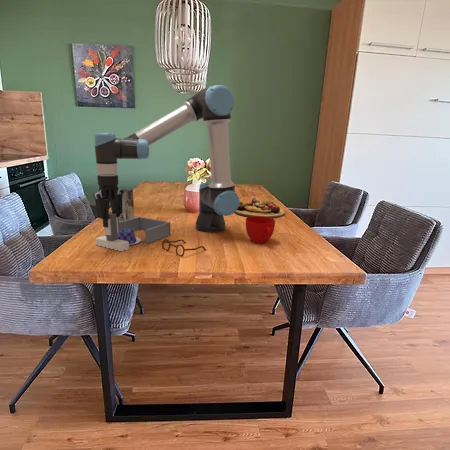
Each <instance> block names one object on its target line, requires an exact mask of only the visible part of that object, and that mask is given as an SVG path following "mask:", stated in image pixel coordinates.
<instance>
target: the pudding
mask: <svg viewBox="0 0 450 450" xmlns="http://www.w3.org/2000/svg"><path fill="white" fill-rule="evenodd" d="M118 239H119V240H124V241H128V242H129V246H131V245H136V244H138V243H140V242H141V241H142V239H141V238H140V237H137V236H136V235H135V231H133V230H131V229H122V230H120V231H119V233H118Z"/></svg>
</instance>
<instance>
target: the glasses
mask: <svg viewBox="0 0 450 450" xmlns="http://www.w3.org/2000/svg"><path fill="white" fill-rule="evenodd" d="M161 242H162V244H161V247H162V250H163V249H164V250H166V251H165V252H169V250H170V248H171V246H172V247H174V248H175V254H176V256H177V255H179V256H181V257H180V258H182V257H183V256H184V255H185V253H186V252H187V251H197V250H198V249H201V248H202V249H203V250H204V251H207V249H206V248H205V247H204V246H203V245H200V246H197V247H193V248H185V245H184V244H185V243H187V241H184V240H183V239H177V240H169V239H167V238H166V239H163V240H162V241H161ZM178 242H182V243H184V244H180V243H179V244H177V245H176V244H174V243H178ZM164 244H168V247H167V249H165V247H164V246H165V245H164ZM179 247H181V248H182V252H181V253H182V254H179V253H178V249H179ZM164 250H163V251H164ZM179 256H178V257H179Z"/></svg>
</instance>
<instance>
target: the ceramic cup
mask: <svg viewBox="0 0 450 450" xmlns="http://www.w3.org/2000/svg"><path fill="white" fill-rule="evenodd" d="M275 225H276V219H275V218H269V217H264V216H252V217H246V218H245V230H246V234H247V236H248V238H249V239H250V240H251V242H253V243H256V244H265V243H267V242H268V241H269V240H270V239H271V237H272V236H273V234H274V231H275Z"/></svg>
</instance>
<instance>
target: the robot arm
mask: <svg viewBox="0 0 450 450" xmlns="http://www.w3.org/2000/svg"><path fill="white" fill-rule="evenodd" d="M234 107H235V96H234V94H233V92H232V90H230V88H228V87H227V86H226V85H223V84H215V85H214V84H213V85H211V86H208V87H206V88H202V89H200V90H199V91H198V92H196V93H195V94H194V95H192V96H191V97H190V98H188V99H186V100H185V101H183V104H182V105H181V106H179V107H177V108H175V109H174V110H172V111H170V112H168V113H167V114H165V115H163V116H161V117H160V118H158V119H156V120H154V121H153V122H151V123H150V124H147V125H145V126H144V127H142V128H140V129H139V130H137V131H135V132H134V133H132V134H130V135H129V136H127V137H123V138H117V135H116V133H115V132H114V133H113V132H96V133H95V134H94V152H95V153H94V154H95V162H96V163H95V164H96V173H97V176H96V177H97V179H96V180H97V185H98V192H96V193H93V194H92V196H93V198H94V201H95V208H96V214H97V218H98V219H102V227H103V229H104V235H111V223H110V219H108V217H109V213H110V208H111V212H112V213H116V221H117V233H118V224H119V218H118V217H120V216H121V215H120V214H122V197H123V192H124V191H123V190H121V189H119V186H118V185H119V176H118V174H119V169H118V168H119V166H118V159H119V160H122V159H125V160H126V159H127V160H130V159H131V160H143V159H144V160H145V159H148V158H149V156H150V146H152V145H153V144H156V143H157V142H159V141H160V140H162V139H164V138H165V137H168V136H169V135H171V134H173V133H174V132H175V131H178V130H179V129H181V128H182V127H184V126H186V125H187V124H190V123H191V122H194V123H196V122H198V121H199V120H202V121H203V123H204V124H205V125H206V126H207V136H208V149H209V162H210V176H211V182H202V183H200V184H199V187H198V188H199V189H198V192H199V195H198V197H199V198H198V203H199V204H198V216H197V217H196V221H195V227H194V228H195V230H197V231H200V232H204V233H205V232H206V233H218V232H222V231H225V230H226V220H225V218H224V217H227V216H231V215H233V214H234V213H235V211H236V210H237V208H238V206H239V202H241V201H240V197H239V195H238V193H236V187H235V183H234V182H233V181H232V179H231V160H230V159H231V158H230V143H229V142H230V141H229V123H230V122H231V120H232V115H231V114H232V111H233V109H234Z"/></svg>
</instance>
